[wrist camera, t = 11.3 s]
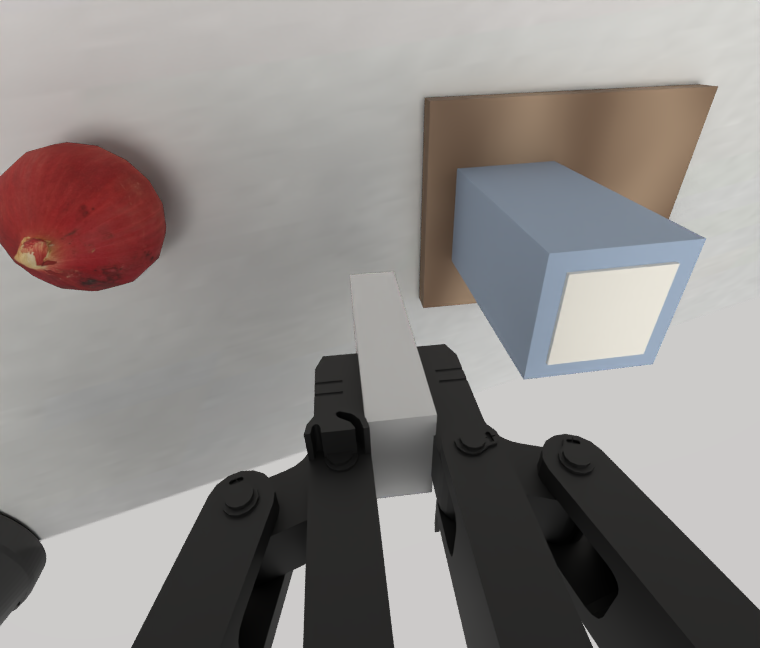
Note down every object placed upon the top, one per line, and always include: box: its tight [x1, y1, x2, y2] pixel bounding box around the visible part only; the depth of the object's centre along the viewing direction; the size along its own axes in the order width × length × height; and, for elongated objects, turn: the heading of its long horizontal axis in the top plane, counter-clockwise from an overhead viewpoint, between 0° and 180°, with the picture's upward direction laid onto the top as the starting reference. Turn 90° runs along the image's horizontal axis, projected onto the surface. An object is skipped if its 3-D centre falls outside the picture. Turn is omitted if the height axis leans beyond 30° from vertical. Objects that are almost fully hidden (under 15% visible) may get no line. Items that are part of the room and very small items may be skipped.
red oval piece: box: [0, 142, 166, 291], centre depth 17 cm, size 6×6×8 cm
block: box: [452, 161, 706, 379], centre depth 18 cm, size 5×5×10 cm
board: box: [419, 84, 718, 308], centre depth 23 cm, size 14×11×1 cm
